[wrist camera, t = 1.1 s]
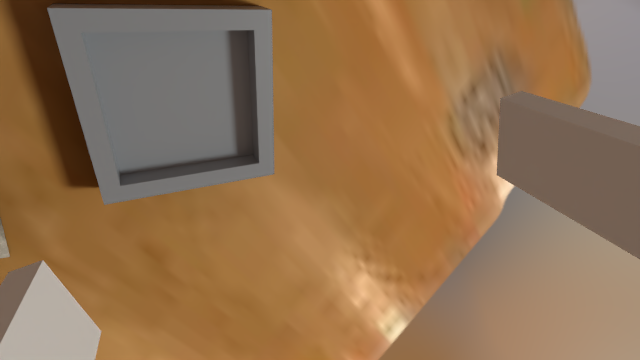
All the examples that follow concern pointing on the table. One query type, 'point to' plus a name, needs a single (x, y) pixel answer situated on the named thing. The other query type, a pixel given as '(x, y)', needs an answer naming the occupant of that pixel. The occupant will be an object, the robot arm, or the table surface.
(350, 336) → the table surface
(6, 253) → the condiment
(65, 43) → the holder
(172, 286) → the table surface
